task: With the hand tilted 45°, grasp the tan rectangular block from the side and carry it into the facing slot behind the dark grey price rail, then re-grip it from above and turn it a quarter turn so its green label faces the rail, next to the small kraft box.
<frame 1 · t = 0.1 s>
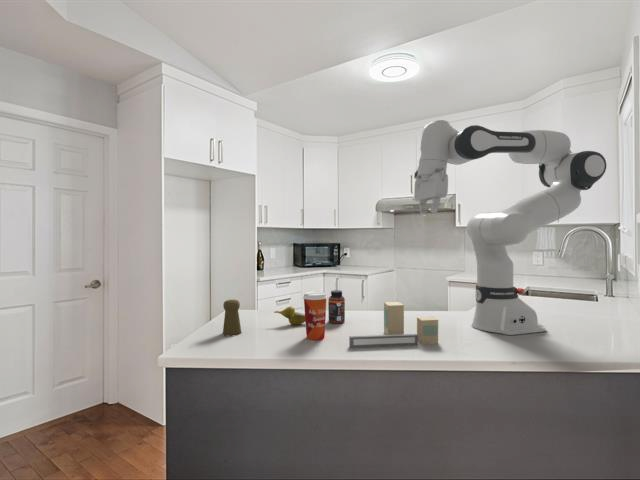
hand: (428, 213, 123), 39 cm above the countertop, tool pointing down, fingers open, 8 cm apart
tea box: (427, 341, 112), on the countertop
paper cup: (315, 338, 117), on the countertop
tan rectangular block: (393, 334, 119), on the countertop
price rail: (383, 345, 108), on the countertop
yellow toy bird: (295, 325, 132), on the countertop
supplement bottle: (336, 322, 136), on the countertop
cork: (232, 333, 123), on the countertop
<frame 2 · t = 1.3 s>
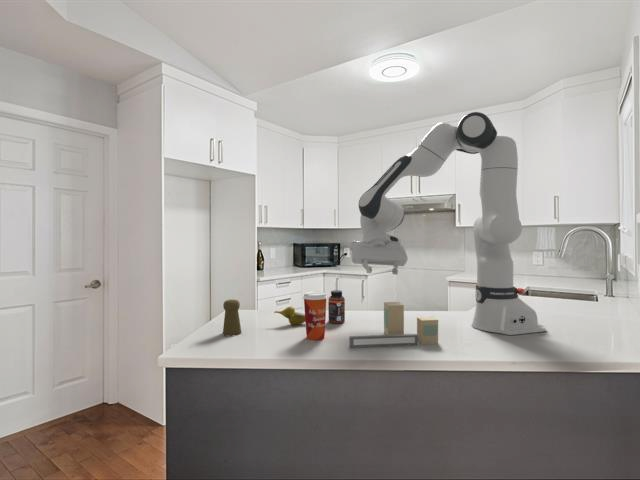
hand: (382, 272, 130), 18 cm above the countertop, tool tilted 45°, fingers open, 8 cm apart
nothing on the countertop moved.
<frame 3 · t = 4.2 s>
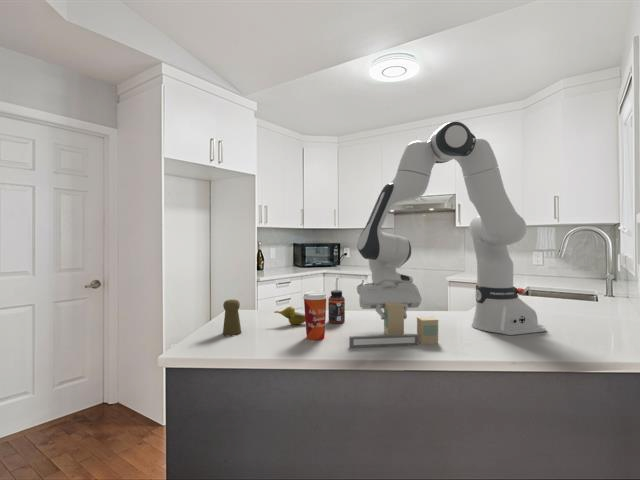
hand: (394, 318, 118), 5 cm above the countertop, tool tilted 45°, fingers closed on tan rectangular block, 5 cm apart
tan rectangular block: (393, 334, 119), on the countertop, touching gripper
everything else where it was.
when the fingers open (7 cm above the countertop, at t = 9.7 s): tan rectangular block drops 1 cm, on the countertop.
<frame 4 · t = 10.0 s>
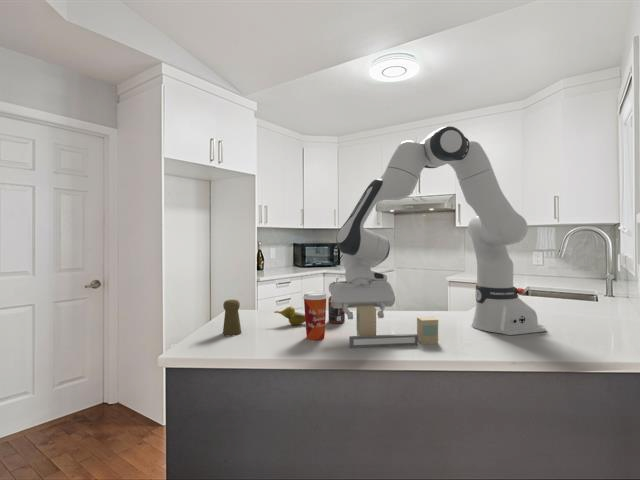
hand: (365, 317, 113), 7 cm above the countertop, tool tilted 45°, fingers open, 8 cm apart
tan rectangular block: (366, 339, 114), on the countertop
everything else where it was.
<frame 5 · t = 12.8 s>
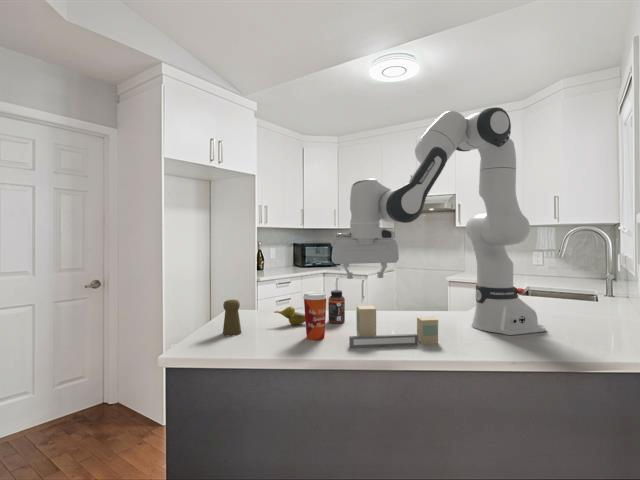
hand: (365, 278, 114), 19 cm above the countertop, tool pointing down, fingers open, 8 cm apart
nothing on the countertop moved.
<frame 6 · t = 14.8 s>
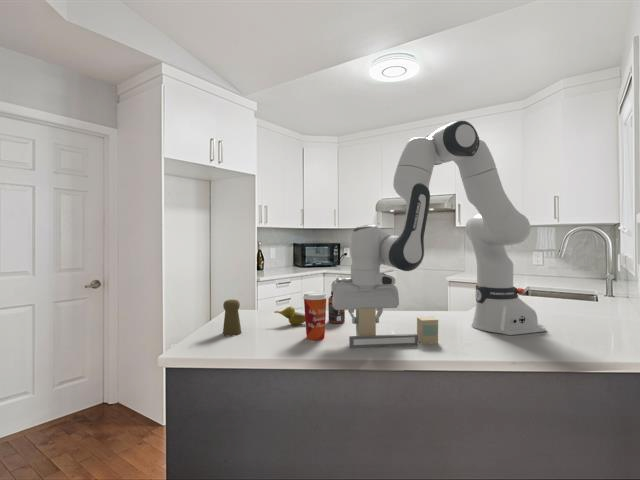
hand: (365, 323, 114), 5 cm above the countertop, tool pointing down, fingers closed on tan rectangular block, 5 cm apart
tan rectangular block: (365, 339, 114), on the countertop, touching gripper
everything else where it was.
when the fingers open (6 cm above the countertop, at t = 18.3 s): tan rectangular block drops 1 cm, on the countertop.
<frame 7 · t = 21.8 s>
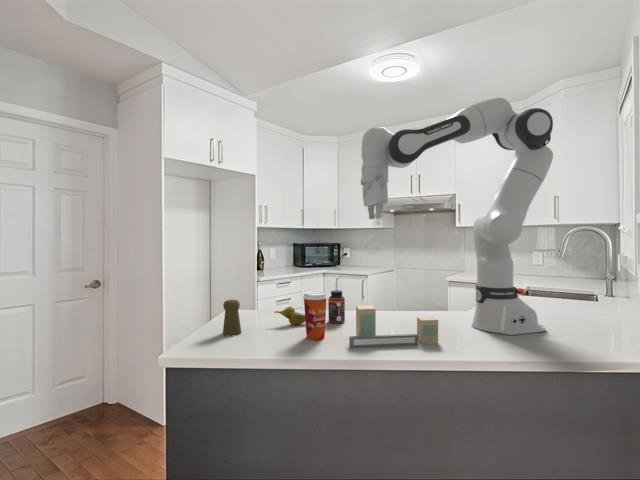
hand: (375, 218, 125), 37 cm above the countertop, tool pointing down, fingers open, 8 cm apart
tan rectangular block: (365, 339, 114), on the countertop
everything else where it was.
at the end: tan rectangular block inside the target area (0.2 cm from its centre), on the countertop; tan rectangular block tilted 0°; the gripper is holding nothing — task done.
